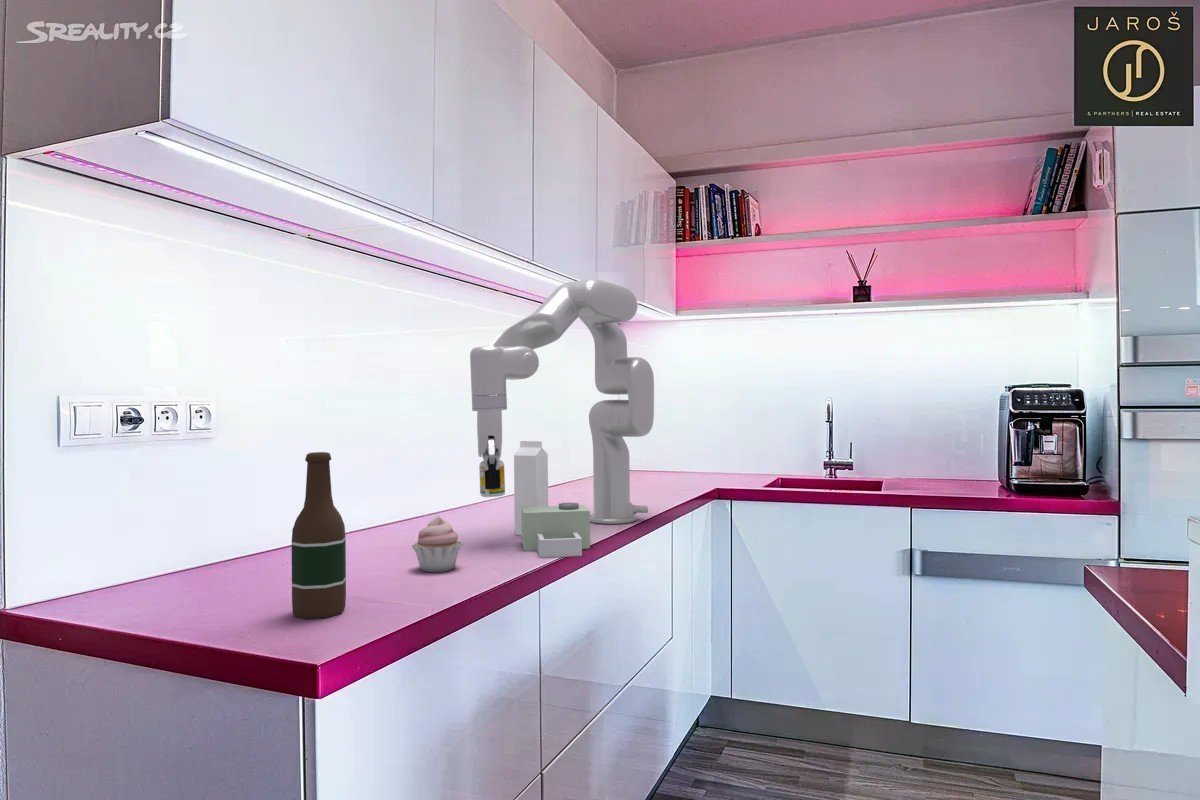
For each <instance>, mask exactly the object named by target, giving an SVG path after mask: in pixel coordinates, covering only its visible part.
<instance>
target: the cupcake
mask: <svg viewBox="0 0 1200 800" xmlns="http://www.w3.org/2000/svg"><path fill="white" fill-rule="evenodd" d="M417 537H418V538H417V541H416V542H415V543H414V544H411V547H412V548H413V550H414V552H415V554H416V557H417V560H418V564H419V568H420V570H421V571H423V572H426V573H444V572H445V573H446V572H448V571H452V570H454V569H455V567H456V563H457V558H458V554H459V551H460V550H461V548H462V545H463V544H464V542H463V541H460V540H458V539H459V538H458V537H459V536H458V534H457V532H456V531H455V530H454V529H453V526H452V525H451V524H450V522H448V521H447V520H445V519H443V518H442V517H440V516H439V515H437V516H436V517H434V518H433V519H431V520H430V521H429V522H428V524H427V526H425V527H423V528H421V529H420V530H419V532H418V536H417Z"/></svg>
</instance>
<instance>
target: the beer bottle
mask: <svg viewBox="0 0 1200 800" xmlns="http://www.w3.org/2000/svg"><path fill="white" fill-rule="evenodd" d="M331 460H332V456H331V453H330V452H326V451H325V452H324V451H318V452H317V451H316V452H309V453H306V455H305V458H304V461H305V462H306V463H307V464H306V480H305V481H306V482H305V498H304V502H303V508H302V509H301V511H300V513H299V514H298V516H297V517H296V518H295V522H294V525H293V527H292V531H291V533H292V534H291V607H292V615H293V616H294V617H296V618H298V617H300V618H299V619H302V618H303V620H315V619H316V620H318V619H319V618H320V619H327V618H330V617H331V618H332V617H334V615H335V616H338V614H339V615H341V614H342V613H343V612H344V610H345V607H346V604H347V603H346V602H347V601H346V600H347V582H346V581H347V566H346V565H347V560H346V559H347V557H346V555H347V551H346V550H347V549H346V541H347V538H346V537H347V536H346V527H345V522H344V520H343V518H342V515H341V513H340V512H339V511H338V509H337V508H336V507H335V505H334V500H333V493H332V481H331V465H330V464H331V463H330V461H331ZM317 618H318V619H317Z"/></svg>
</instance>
